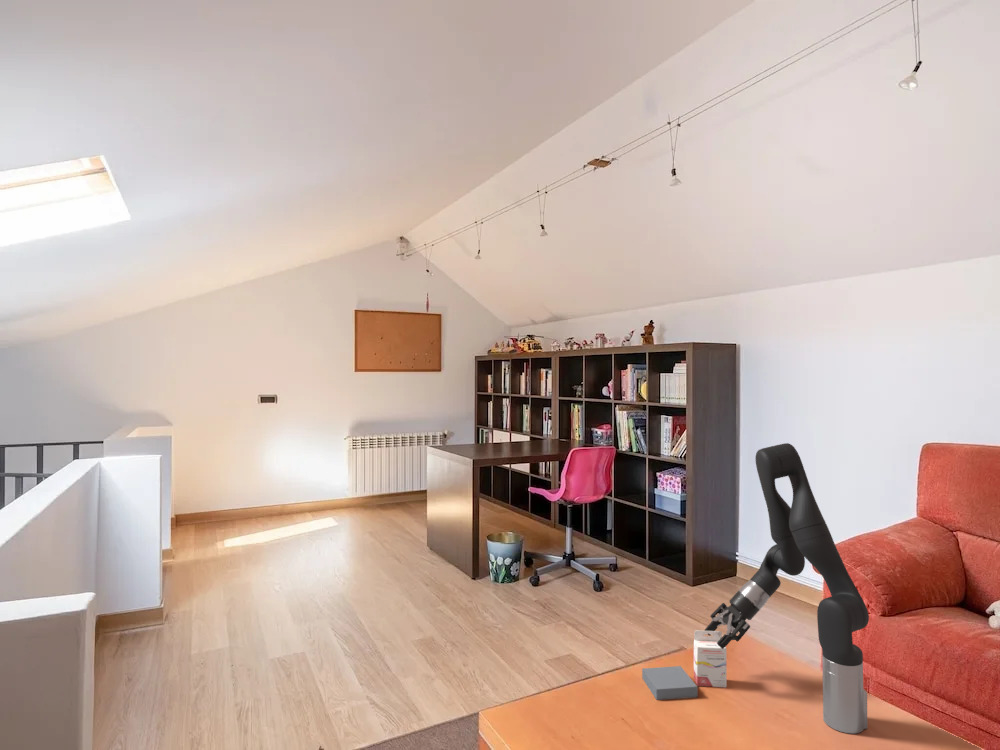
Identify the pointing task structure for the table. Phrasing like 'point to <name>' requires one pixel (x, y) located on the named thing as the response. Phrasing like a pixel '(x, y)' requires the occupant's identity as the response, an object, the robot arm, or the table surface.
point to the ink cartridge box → (709, 659)
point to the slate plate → (669, 683)
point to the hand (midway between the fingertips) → (713, 639)
